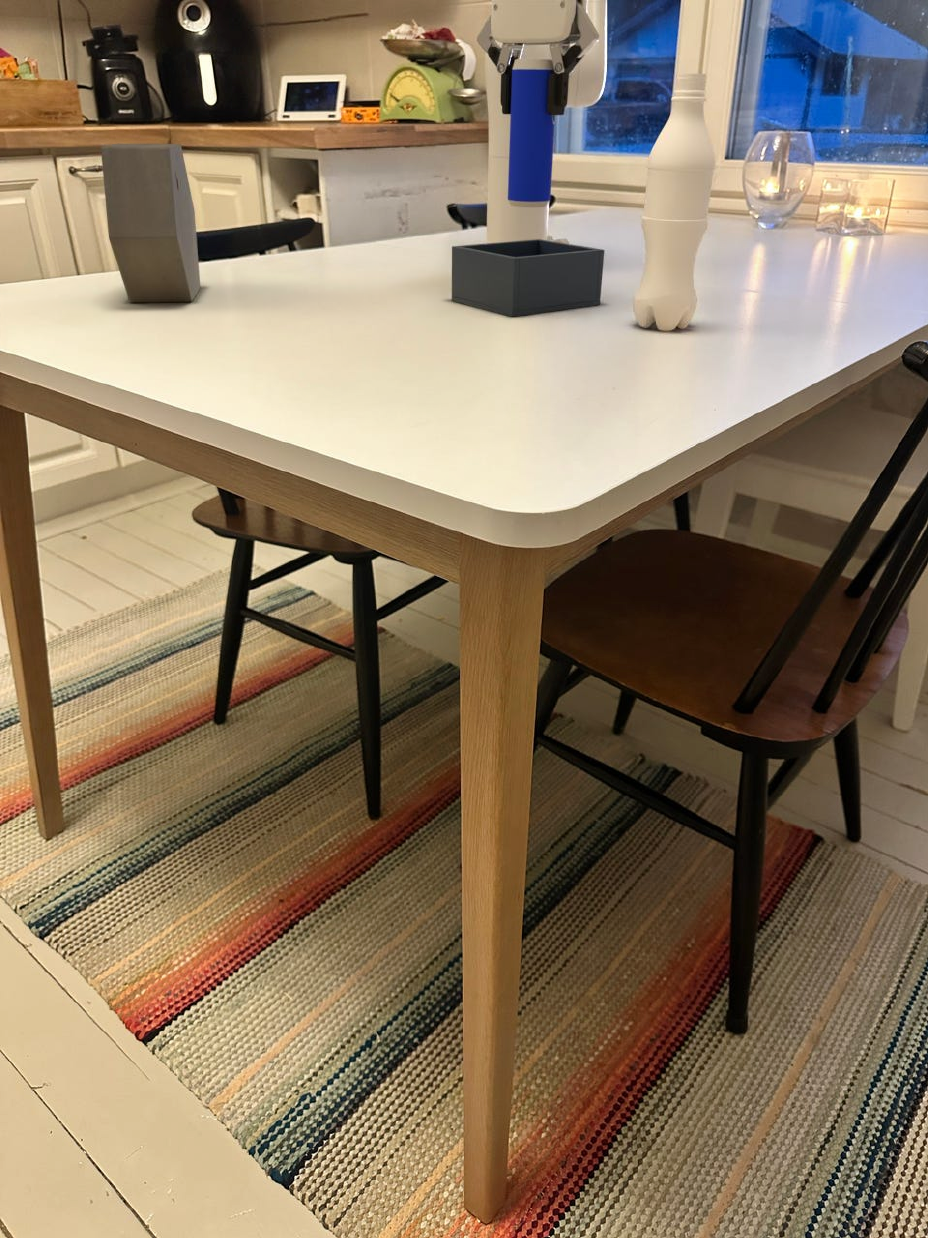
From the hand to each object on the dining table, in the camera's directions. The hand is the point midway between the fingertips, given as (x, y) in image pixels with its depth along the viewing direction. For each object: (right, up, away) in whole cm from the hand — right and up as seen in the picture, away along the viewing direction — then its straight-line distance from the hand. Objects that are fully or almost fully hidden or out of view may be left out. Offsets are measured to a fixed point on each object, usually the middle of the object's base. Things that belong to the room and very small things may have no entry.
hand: (532, 112), depth 103 cm
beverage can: (0, -9, +5) cm, 10 cm away
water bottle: (+15, -25, 0) cm, 29 cm away
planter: (-47, -17, +13) cm, 52 cm away
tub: (0, -18, +12) cm, 21 cm away
